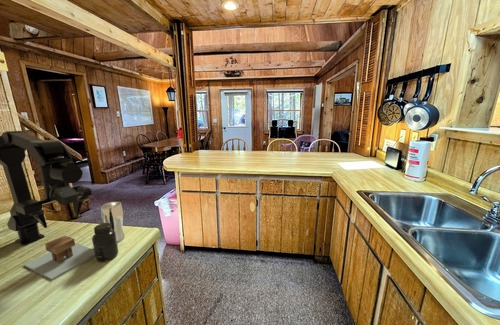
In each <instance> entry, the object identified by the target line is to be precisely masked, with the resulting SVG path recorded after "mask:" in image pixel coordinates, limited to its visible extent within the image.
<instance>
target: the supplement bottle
mask: <svg viewBox="0 0 500 325" xmlns="http://www.w3.org/2000/svg"><path fill="white" fill-rule="evenodd" d="M93 231H94V232H93V233H94V234H93V235H92V237H91V241H92V242H91V243H92V245H93V246H92V247H93V250H94V253H95V256H94V257H95V260H96V261H97V262H100V263H103V262H104V263H105V262H108V261H110V260H113V259H114V258H116V257H117V256H118V254H119V248H118V242H117V239H116V233H115V231H114V230H112V228H111V224H110V223H103V222H102V223H99V224H97V225H95V226H94V228H93Z"/></svg>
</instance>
